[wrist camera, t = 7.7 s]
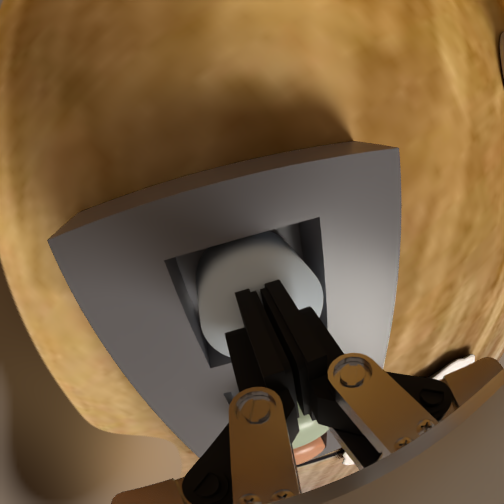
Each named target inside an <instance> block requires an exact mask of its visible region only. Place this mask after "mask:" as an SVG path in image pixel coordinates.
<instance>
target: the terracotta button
mask: <svg viewBox="0 0 504 504" xmlns="http://www.w3.org/2000/svg"><path fill="white" fill-rule="evenodd" d="M324 448H325V445H324V442H323V440H322V438H321V436H320V437H319V438H317V439H315V440H314V441H312V442H310V443H308V444H306V445H303V446H301V447H298V448H295V449H293V450H294V456H295V461H296V465H298V464H301V463H304V462H306V461H308V460H310V459H312V458H314V457H316V456H317V455H318V454H320V453H321V452H322V451H323V450H324Z"/></svg>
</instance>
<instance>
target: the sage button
mask: <svg viewBox="0 0 504 504" xmlns="http://www.w3.org/2000/svg"><path fill="white" fill-rule="evenodd" d="M297 404H298V402H297ZM298 410H299V418H298V424H299V430H300V431H299V433H298V434H297V436H296V438H295V440H294V441H293V443H292V445H293V449H295V448H298V447H301V446H303V445H306V444H308V443H310V442H312V441H314V440H315V439H317V438H319V437H320V436H322V435H323V434H324V433H325V432H327V431H328V430H329V429H328V427H327V426H324V425H320V424H318V422H317V420H314V421H312V419H311V417H310V415H309V414H308V415H305V416H304V415H303V413H302V411H301V409H300V407H299V404H298Z"/></svg>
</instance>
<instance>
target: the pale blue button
mask: <svg viewBox="0 0 504 504" xmlns="http://www.w3.org/2000/svg"><path fill="white" fill-rule="evenodd" d="M278 279H279V280H280V281H281V283H282V284H283V286H284V287H285V289H286V290H287V292H288V294H289V295H290V297H291V298H292V300H293V301H294V303H295V305H296V306H297V308H298V309H299V310H300V309H303V308H306V307H309V306H310V307H312V309H313V310H314V311H315V313H316V314H317V315H318V317H320V315H321V311H322V307H323V291H322V287H321V284H320V282H319V280H318V278H317V277H316V276H315V274H314V273H313V272H312V271H311V269H310V268H309V267H308V266H307V265H306V264H305V263H304V261H303V260H302V259H301V258H300V257H299V256H298V255H297V253H296V252H295V251H294V250H293V249H292V248H291V247H290V246H289V244H288V243H287V242H286V241H285V240H284V239H283V238H281V237H280V236H278V235H277V234H275V233H273V232H271V231H266V232H262V233H258V234H255V235H251V236H248V237H244V238H240V239H237V240H233V241H230V242H226V243H223V244H219V245H216V246H212V247H209V248H207V249H206V251H205V252H204V254H203V255H202V257H201V259H200V261H199V263H198V266H197V271H196V288H197V298H198V307H199V315H200V323H201V329H202V332H203V334H204V336H205V338H206V340H207V341H208V342H209V344H210V345H211V346H212V347H213V348H214V349H216V350H217V351H218V352H220V353H222V354H224V355H226V356H228V357H230V354H229V350H228V346H227V342H226V338H225V333H226V332H230V331H233V330H237V329H240V328H243V327H244V324H243V320H242V317H241V313H240V310H239V307H238V303H237V300H236V296H235V292H238V291H242V290H245V289H248V288H249V289H250V292H252V291H256V292H257V294H258V296H259V298H260V300H261V303H262V305H263V301H262V297H261V292H260V289H262V288H265V285H264V284H265V283H268V282H272V281H275V280H278ZM263 307H264V306H263Z"/></svg>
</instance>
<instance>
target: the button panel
mask: <svg viewBox="0 0 504 504" xmlns="http://www.w3.org/2000/svg"><path fill="white" fill-rule="evenodd" d="M266 231H271V232H273V233H275V234H277V235H278V236H280V237H281V238H283V239H284V240H285V241H286V242H287V243H288V244H289V246H290V247H291V248H292V249H293V250H294V251H295V252H296V253H297V255H298V256H299V257H300V258H301V259H302V260H303V261H304V263H305V264H306V265H307V266H308V267H309V268H310V269H311V271H312V272H313V273H314V274H315V276H316V277H317V278H318V280H319V282H320V284H321V287H322V291H323V307H322V311H321V315H320V317H319V318H320V320H321V321H322V323H323V324H324V325H325V327H326V328H327V330H328V331H329V333H330V334H331V335H332V337H333V338H334V340H335V341H336V343H337V344H338V346H339V347H340V348H341V350H342V351H343V353H344V354H348V353H361V354H364V355H367V356H368V357H370V358H371V359H373V360H374V361H375V362H376V363H377V364H378V365H379V366H380V367H381V368H382V369H383V366H384V362H385V357H386V352H387V347H388V342H389V337H390V331H391V325H392V319H393V312H394V305H395V298H396V289H397V280H398V269H399V256H400V239H401V173H400V156H399V148H397V147H391V146H385V145H379V144H372V143H365V142H357V141H351V142H344V143H337V144H330V145H323V146H317V147H311V148H305V149H300V150H294V151H289V152H284V153H279V154H274V155H269V156H264V157H259V158H255V159H250V160H246V161H242V162H237V163H233V164H229V165H225V166H221V167H217V168H213V169H209V170H206V171H202V172H198V173H195V174H191V175H188V176H184V177H181V178H177V179H174V180H170V181H167V182H164V183H161V184H157V185H154V186H151V187H148V188H145V189H142V190H139V191H136V192H133V193H130V194H127V195H124V196H121V197H119V198H116V199H113V200H110V201H108V202H105V203H102V204H100V205H97V206H94V207H92V208H89V209H87V210H84V211H82V212H79V213H77V214H76V215H75V216H74V217H73V218H71V219H70V220H69V221H68V222H67V223H66V224H65V225H63V226H62V227H61V228H60V229H59V230H58V231H57V232H56V233H55V234H53V235H52V236H51V237H50V238H49V239H48V240H47V241H48V243H49V246H50V248H51V250H52V252H53V255H54V257H55V259H56V261H57V263H58V266H59V268H60V270H61V272H62V274H63V276H64V278H65V280H66V282H67V284H68V286H69V288H70V290H71V292H72V293H73V295H74V297H75V299H76V301H77V303H78V304H79V306H80V308H81V310H82V311H83V313H84V315H85V316H86V318H87V320H88V321H89V323H90V325H91V326H92V328H93V330H94V331H95V333H96V334H97V336H98V338H99V339H100V341H101V342H102V344H103V345H104V347H105V348H106V350H107V351H108V353H109V354H110V355H111V357H112V358H113V360H114V361H115V363H116V364H117V365H118V367H119V368H120V369H121V371H122V372H123V373H124V375H125V376H126V377H127V379H128V380H129V381H130V383H131V384H132V385H133V387H134V388H135V389H136V390H137V392H138V393H139V394H140V395H141V396H142V398H143V399H144V400H145V401H146V402H147V404H148V405H149V406H150V407H151V408H152V409H153V411H154V412H155V413H156V414H157V415H158V416H159V417H160V418H161V420H162V421H163V422H164V423H165V424H166V425H167V426H168V427H169V428H170V429H171V430H172V431H173V432H174V433H175V434H176V436H177V437H178V438H179V439H180V440H181V441H182V442H183V443H184V444H185V445H186V446H188V447H189V448H190V449H191V450H192V451H193V452H194V453H195V454H196V455H197V456H198V457H199V458H201V456H202V455H203V454H204V453H205V452H206V450H207V449H208V448H209V447H210V446H211V444H212V443H213V442H214V441H215V439H216V438H217V437H218V436H219V434H220V433H221V432H222V431H223V429H224V428H225V427H226V425H227V424H228V423H229V405H230V403H231V401H232V399H233V398H234V397H235V396H236V395H237V394H238V393H239V390H238V386H237V382H236V378H235V374H234V370H233V366H232V362H231V358H230V357H228V356H226V355H224V354H222V353H220V352H218V351H217V350H216V349H214V348H213V347H212V346H211V345H210V344H209V342H208V341H207V340H206V338H205V336H204V334H203V332H202V329H201V323H200V315H199V307H198V298H197V288H196V271H197V266H198V263H199V261H200V259H201V257H202V255H203V254H204V252H205V251H206V249H207V248H209V247H212V246H216V245H219V244H223V243H226V242H230V241H233V240H237V239H240V238H244V237H248V236H251V235H255V234H258V233H262V232H266ZM321 438H322V440H323V442H324V445H325V448H324V450H323V451H322V452H321V453H320V454H318V455H317V456H316V457H314V458H317V457H320V456H322V455H325V454H327V453H330V452H332V451H335V450H337V449H339V448H342V447H341V445H340V444H339V443H338V441H337V440H336V439H335V437H334V436H333V435H332V433H331V432H330V431H329V430H328V431H327V432H325V433H324V434H323V435H322V436H321ZM314 458H312V459H314ZM312 459H310V460H312ZM308 461H309V460H308Z"/></svg>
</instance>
